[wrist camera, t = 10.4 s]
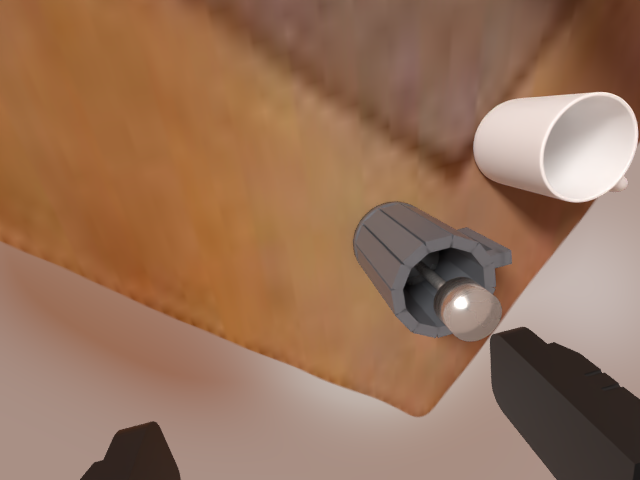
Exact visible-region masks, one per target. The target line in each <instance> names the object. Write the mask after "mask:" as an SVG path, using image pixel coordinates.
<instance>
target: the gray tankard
mask: <svg viewBox="0 0 640 480" xmlns="http://www.w3.org/2000/svg"><path fill="white" fill-rule="evenodd" d="M353 249H354V253H355V256H356V259H357V261H358V263H359V264H360V265H361V267H362V268H363V270H364V271H365V273H366V274H367V275H368V277H369V278H370V280H371V281H372V283H373V284H374V286H375V287H376V288H377V290H378V291H379V293H380V294H381V296H382V297H383V298H384V300H385V301H386V303H387V304H388V306H389V307H390V308H391V310H392V311H393V313H394V314H395V316H396V317H397V318H398V319H399V320H400V321H401V322H402V323H403V324H404V325H405V326H406V327H407V328H408V329H409V330H410V331H411V332H413V333H416V334H420V335H425V336H430V337H434V338H436V336H437V337H438V338H439V337H443V336H446V335H450V334H453V333H452V332H451V331H450V330H449V329H448V327H447V326H446V325H445V324H444V323H443V322H442V321H441V320H440V319H439V317H438V316H437V315H436V313H435V311H434V306H433V303H434V298H435V295H436V293H437V291H438V290H437V289H436V288H435V287H434V286H433V285H432V284H431V283H430V282H428V281H427V280H424V281H422V282H420V283H418V284H415V285H405V283H406V281H407V278H408V276H409V273H410V271H411V268H413V267H414V266H415V265H416V264H417V263H418V262H419V261H421V260H422V259H423V258H424V257H425V256H426V255H427V254H428V253H431V252H435V251H438V250H439V261H438V264H437V266H436V268H435V270H434V272H435V273H436V274H437V275H439V276H440V277H441V278H442V279H443V280H444V281H446V282H447V281H449V280H451V279H453V278H457V277H467V278H470V279H472V280H474V281H475V282H477V283H478V284H479V285H481V286H482V287H483V288H485V289H486V290H487V291H489V292H490V293H491V294H493V293H494V291H495V288H494V287H496V279H495V268H498V267H501V266H505V265H509V264H512V256H511V250H510V249H508V248H506V247H504V246H502V245H500V244H498V243H496V242H494V241H492V240H490V239H488V238H486V237H485V236H483V235H481V234H479V233H477V232H475V231H473V230H471V229H469V228H467V227H466V228H462V229H458V230H456V229H454V228H452V227H450V226H448V225H447V224H445V223H443V222H441V221H439V220H438V219H436V218H434V217H432V216H430V215H429V214H427V213H425V212H423V211H422V210H420V209H418V208H416V207H414V206H412V205H410V204H407V203H404V202H398V201H397V202H396V201H395V202H387V203H384V204H381V205H378V206H376V207H374V208H373V209H371V210H370V211H369V212H368V213H367V214H366V215H365V216H364V217H363V218H362V219H361V221H360V222H359V224H358V226H357V228H356V230H355V234H354V239H353Z"/></svg>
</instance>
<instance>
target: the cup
mask: <svg viewBox="0 0 640 480" xmlns="http://www.w3.org/2000/svg"><path fill="white" fill-rule="evenodd" d="M637 143H638V125H637V120H636V117H635V114H634V112H633V110H632V109H631V107H630V106H629V105H628V104H627V103H626V102H625V101H624V100H623V99H622V98H620V97H618V96H617V95H614V94H611V93H607V92H593V93H581V94H568V95H556V96H543V97H531V98H520V99H513V100H509V101H506V102H503V103H501V104H499V105H498V106H496V107H495V108H493V109H492V110H491V111H490V112H489V113H488V114H487V115H486V116H485V117H484V118H483V120H482V121H481V123H480V125H479V127H478V129H477V131H476V134H475V138H474V144H473V152H474V158H475V161H476V164H477V166H478V168H479V169H480V171H481V172H482V173H483V174H484V175H485V176H486V177H487V178H489V179H491V180H493V181H495V182H497V183H500V184H504V185H508V186H511V187H515V188H519V189H523V190H526V191H530V192H534V193H538V194H541V195H545V196H549V197H553V198H556V199H560V200H564V201H568V202H576V203H578V202H586V201H590V200H593V199H596V198H598V197H600V196H602V195H603V194H605V193H607V192H608V191H610V192H619V191H622V190H624V189H625V188H626V187H627V185H628V180H627V179H626V178H625V176H624V175H625V173H626V172H627V170H628V168H629V167H630V165H631V163H632V161H633V158H634V155H635V152H636V148H637Z"/></svg>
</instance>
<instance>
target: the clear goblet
mask: <svg viewBox="0 0 640 480" xmlns="http://www.w3.org/2000/svg"><path fill="white" fill-rule="evenodd" d="M438 261H439V250H438V251H435V252H431V253H428V254H427V255H426V256H425V257H424V258H423V259H422V260H421V261H419V262H418V263H417V264H416V265H415V266H414V267H413V268H411V271H410V273H409V276H408V278H407V281H406V283H405V285H415V284H418V283H420V282H422V281H424V280H427V281H428V282H430V283H431V284H432V285H433V286H434V287H435V288H436V289H437V290H438V291H437V293H436V295H435V298H434V303H433V306H434V311H435V313H436V315H437V316H438V317H439V319H440V320H441V321H442V322H443V323H444V324H445V325H446V326H447V327H448V329H449V330H450V331H451V332H452V333H453V334H454V335H455V336H456V337H457V338H459V339H461V340H463V341H478V340H481V339H483V338H485V337H487V336H488V335H489V334H491V333H492V332H493V331H494V330H495V328H496V327H497V326H498V324H499V322H500V319H501V315H502V308H501V304H500V302H499V300H498V299H497V298H496V297H495V296H494V295H493V294H491V293H490V292H489V291H487V290H486V289H485V288H483V287H482V286H481V285H479V284H478V283H477V282H475V281H474V280H472V279H470V278H467V277H457V278H453V279H451V280H449V281H447V282H446V281H444V280H443V279H442V278H441V277H440V276H439V275H437V274H436V273H435V272H434V270H435V268H436V266H437V264H438Z"/></svg>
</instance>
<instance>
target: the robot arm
mask: <svg viewBox="0 0 640 480" xmlns="http://www.w3.org/2000/svg"><path fill="white" fill-rule="evenodd" d="M490 353H491V379H492V389H493V393H494V396H495V399H496V401H497V403H498V405H499V407H500V408H501V410H502V411H503V413H504V414H505V415H506V416H507V418H508V419H509V420H510V422H511V423H512V424H513V425H514V427H515V428H516V429H517V430H518V432H519V433H520V434H521V435H522V437H523V438H524V439H525V440H526V442H527V443H528V444H529V445H530V447H531V448H532V449H533V450H534V452H535V453H536V454H537V455H538V457H539V458H540V459H541V460H542V462H543V463H544V464H545V465H546V467H547V468H548V469H549V470H550V472H551V473H552V474H553V476H554V477H555V478H556V479H557V480H640V399H638V398H637V397H636V396H634V395H633V394H632V393H631V392H629V391H628V390H627V389H625V388H624V387H620V386H619V384H618V382H616V381H615V380H614V379H612V378H611V377H610V376H608V375H607V374H606V373H602V372H601V369H599V368H598V367H596V366H595V365H594V364H593V363H592V362H590V361H589V360H588V359H586V358H585V357H584V356H582V355H581V354H580V353H578V352H575V351H573V350H571V349H568V348H566V347H564V346H561V345H559V344H557V343H555V342H553V343H550V344H547V343H545V342H544V341H543V340H542V339H541V338H539V337H538V336H537V335H536V334H534V333H533V332H532V331H531V330H529V329H528V328H526V327H520V328H516V329H512V330H508V331H504V332H500V333H497V334H493V335H492V336H491V339H490ZM80 480H180V473H179V470H178V467H177V465H176V462H175V460H174V458H173V456H172V454H171V451H170V449H169V447H168V444H167V442H166V440H165V438H164V435H163V433H162V431H161V429H160V427H159V425H158V424H157V423H156V422H149V423H145V424H141V425H138V426H133V427H130V428H126V429H122V430H119V431H118V432H117V433H116V434H115V436H114V437H113V440H112V442H111V444H110V446H109V448H108V451H107V453H106V455H105V457H104V460H102V461H98V462H95V463H94V464H93V465H92V466H91V467H90V468H89V469H88V471H87V472H86V473H85V474H84V475H83V477H82V478H81V479H80Z"/></svg>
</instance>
